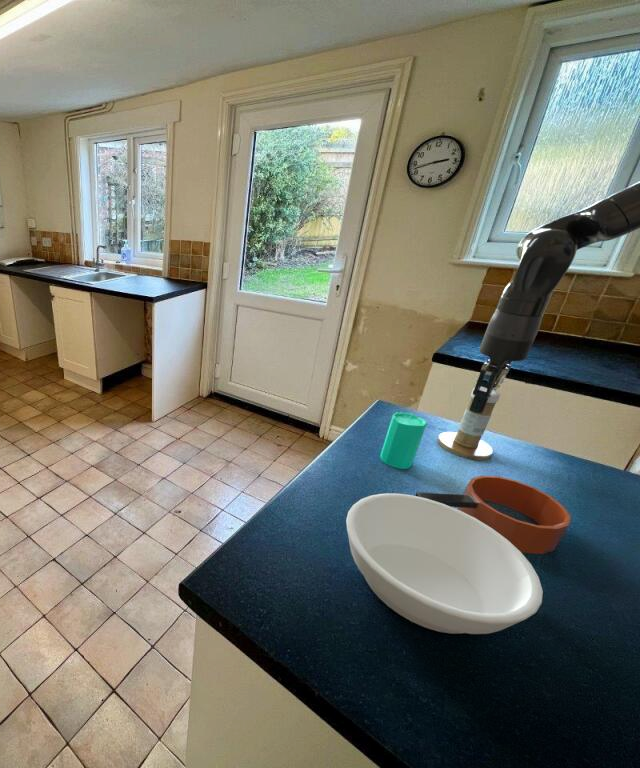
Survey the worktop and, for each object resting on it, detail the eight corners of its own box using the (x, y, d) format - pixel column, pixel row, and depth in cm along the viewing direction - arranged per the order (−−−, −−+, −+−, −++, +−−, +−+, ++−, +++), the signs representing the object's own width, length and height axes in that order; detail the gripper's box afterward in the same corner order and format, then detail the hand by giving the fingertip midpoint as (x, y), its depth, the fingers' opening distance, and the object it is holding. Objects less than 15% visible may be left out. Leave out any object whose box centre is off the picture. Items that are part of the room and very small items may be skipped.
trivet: (472, 436, 99) (474, 432, 98) (502, 461, 90) (504, 457, 89) (428, 434, 100) (429, 430, 99) (453, 458, 91) (455, 454, 90)
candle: (417, 470, 87) (434, 420, 82) (386, 467, 88) (402, 418, 83) (404, 453, 92) (420, 406, 87) (375, 451, 93) (389, 404, 88)
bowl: (338, 514, 75) (349, 477, 72) (494, 560, 66) (515, 521, 62) (329, 617, 57) (343, 574, 54) (542, 701, 48) (575, 656, 44)
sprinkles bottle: (473, 440, 95) (495, 387, 90) (481, 450, 92) (504, 396, 86) (450, 436, 97) (470, 384, 91) (456, 446, 93) (478, 393, 87)
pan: (516, 501, 78) (528, 477, 76) (578, 557, 66) (594, 531, 64) (393, 493, 80) (401, 470, 78) (431, 546, 68) (442, 521, 66)
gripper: (526, 346, 76) (492, 424, 84) (542, 331, 85) (509, 403, 92) (476, 336, 82) (448, 411, 89) (496, 322, 90) (468, 392, 97)
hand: (479, 406), depth 90 cm, fingers open, 5 cm apart
